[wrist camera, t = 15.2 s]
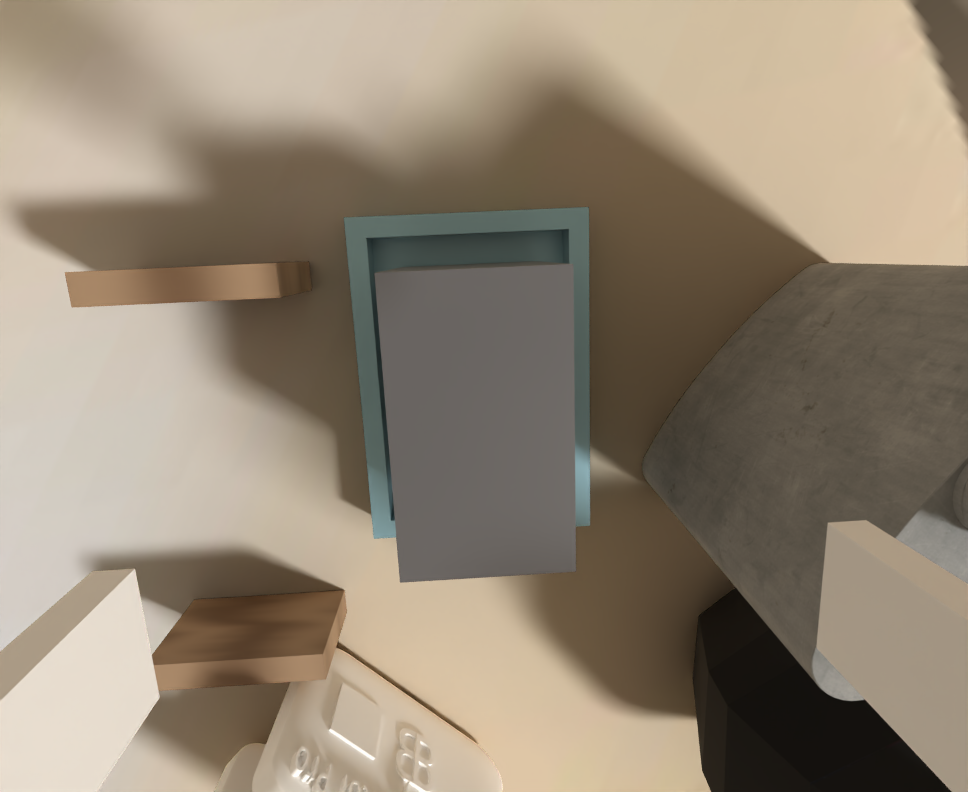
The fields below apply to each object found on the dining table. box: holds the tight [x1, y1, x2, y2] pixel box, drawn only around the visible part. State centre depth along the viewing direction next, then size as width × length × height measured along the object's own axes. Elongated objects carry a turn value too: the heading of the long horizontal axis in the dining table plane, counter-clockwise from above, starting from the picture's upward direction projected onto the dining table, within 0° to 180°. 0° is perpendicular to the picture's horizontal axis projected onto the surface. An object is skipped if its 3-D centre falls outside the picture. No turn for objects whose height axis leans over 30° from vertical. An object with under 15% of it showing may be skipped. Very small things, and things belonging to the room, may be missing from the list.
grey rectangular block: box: [374, 261, 576, 582], centre depth 28 cm, size 7×12×11 cm, turn 2°
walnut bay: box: [65, 261, 347, 691], centre depth 31 cm, size 9×21×6 cm, turn 2°
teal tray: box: [344, 207, 590, 539], centre depth 33 cm, size 12×17×2 cm
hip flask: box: [642, 263, 968, 701], centre depth 25 cm, size 16×4×20 cm, turn 142°
